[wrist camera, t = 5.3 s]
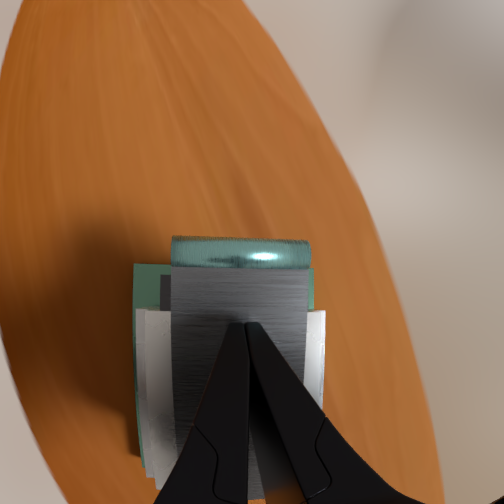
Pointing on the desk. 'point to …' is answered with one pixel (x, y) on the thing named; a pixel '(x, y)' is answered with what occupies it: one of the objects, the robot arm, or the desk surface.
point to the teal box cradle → (160, 365)
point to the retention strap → (233, 313)
